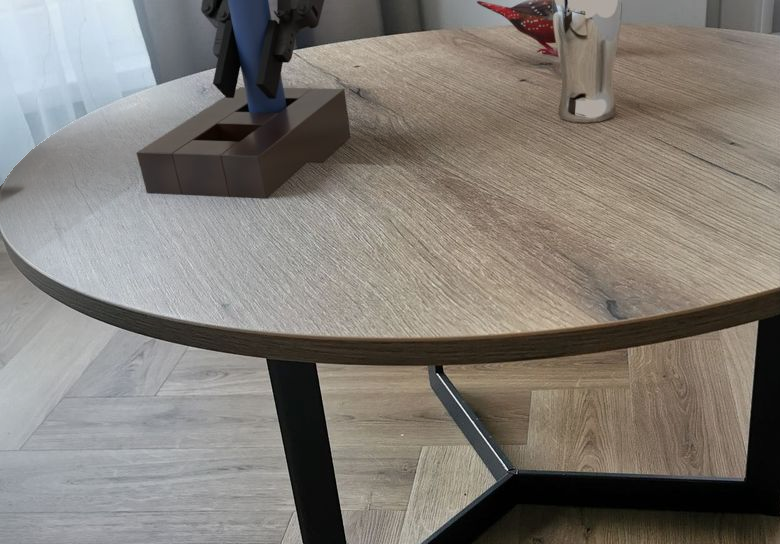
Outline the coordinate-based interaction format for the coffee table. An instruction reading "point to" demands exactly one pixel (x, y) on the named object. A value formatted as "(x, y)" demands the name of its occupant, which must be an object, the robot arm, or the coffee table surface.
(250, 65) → the blue peg
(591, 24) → the beer glass
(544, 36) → the decorative bird figurine
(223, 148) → the peg rack
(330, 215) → the coffee table surface
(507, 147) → the coffee table surface
